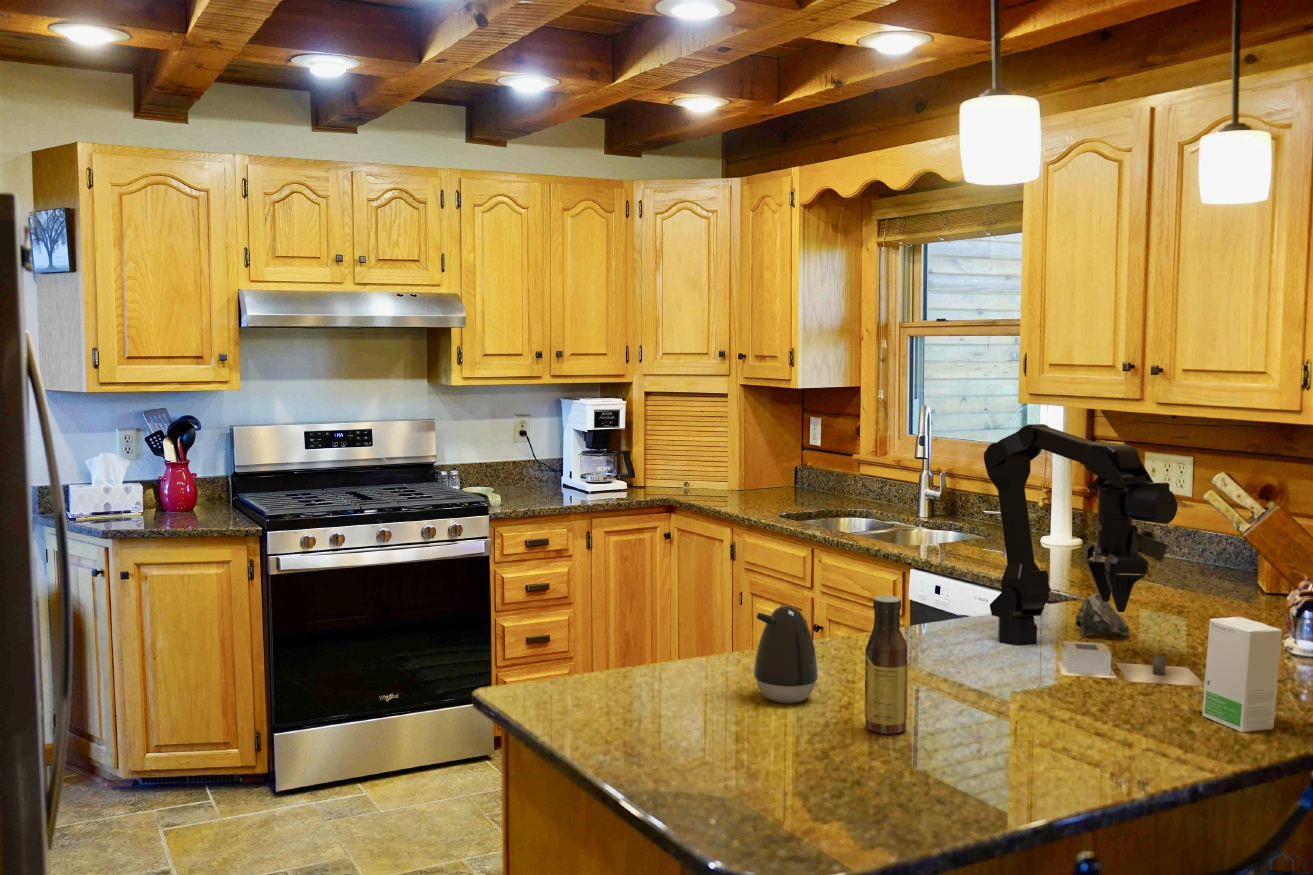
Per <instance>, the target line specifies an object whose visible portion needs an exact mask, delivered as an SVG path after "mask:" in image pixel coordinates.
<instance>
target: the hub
mask: <svg viewBox="0 0 1313 875" xmlns="http://www.w3.org/2000/svg"><path fill="white" fill-rule="evenodd" d="M1166 661H1167V657H1166V656H1163V655H1158V654H1157V655H1153V657H1152V664H1140V663H1139V664H1138V663H1123V662H1116V663H1115V664H1116V666H1117V667H1118V668H1119V670H1120V672H1121V673H1122V674H1123V675H1124V677H1125V678H1126V680H1127V681H1128V682H1130V683H1131V682H1133V683H1147V684H1148V683H1149V684H1164V685H1178V686H1180V685H1181V686H1193V687H1194V686H1196V687H1205V683H1203V682H1202V681H1201V680H1200V679H1199V678H1198V677H1197V675H1196V674H1195V673H1193V672H1192V670H1191V669H1190V668H1189V667H1187V666H1174V665H1171V666H1169V665H1166V664H1167V662H1166Z"/></svg>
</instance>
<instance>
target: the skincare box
mask: <svg viewBox="0 0 1313 875" xmlns="http://www.w3.org/2000/svg"><path fill="white" fill-rule="evenodd" d="M1282 635H1283V629H1280V628H1278V627H1274V626H1271V625H1268V624H1265V623H1263V622H1260V621H1256V620H1252V619H1248V618H1246V617H1242V616H1231V617H1218V618H1209V627H1208V638H1207V639H1208V640H1207V649H1206V650H1207V651H1206V663H1205V664H1206V665H1205V674H1204V675H1205V676H1204V685H1205V686H1203V687H1204V689H1203V700H1202V712H1201V713H1202V716H1203V718H1207V719H1209V720H1211V721H1214V722H1216V723H1219V724H1221V725H1223V726H1226V727H1228V728H1231V729H1234V730H1236V731H1238V732H1240V733H1250V732H1257V731H1265V730H1266V731H1267V730H1273V729H1274V728H1275V718H1276V706H1277V692H1278V682H1279V672H1280V670H1279V669H1280V661H1281V648H1282V647H1281V646H1282V638H1283V636H1282Z"/></svg>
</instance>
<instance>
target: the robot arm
mask: <svg viewBox="0 0 1313 875" xmlns="http://www.w3.org/2000/svg"><path fill="white" fill-rule="evenodd" d="M1042 451H1046V452H1049V453H1052V454H1055V455H1057V456H1060V457H1063V458H1066V459H1068V460H1071V461H1075V462H1077V463H1079V464H1081V465H1082V466H1084V468H1085V469H1086V471H1088V472H1090V473H1091V474H1093V475H1094V476H1096V478H1095V479H1094V480H1093V481H1092V482H1091V483H1090V484H1088V485H1087V489H1088V490H1089V491H1090V490H1092V491H1097V520H1095V521H1093V527H1094V529H1096V530H1097V531H1096V541H1087V543H1085V544H1084V545H1083V546H1082V558H1084V562H1085V564H1086V566H1087V568H1088V571H1089V573H1090V575H1091V577H1092V580H1093V582H1094V584H1095V586H1096V590H1097V591H1098V594H1100V597H1101V599H1102V601H1103V602H1108V603H1109V602H1110V599H1111V597H1112V600H1113V602H1114V606H1115V608H1116V611H1117V612H1118V613H1124V612H1125V611H1126V608H1127V606H1128V602H1129V599H1130V597H1131V593H1132V590H1133V587H1134V585H1135V583H1137V582H1138V581H1140V580H1141V579H1144V577H1146V575H1149V570H1150V569H1149V568H1150V567H1149V566H1150V563H1149V561H1148V560H1147V559H1145V558H1144V556H1145V555H1146V556H1147V557H1150V558H1153V559H1154V560H1155V561H1159V562H1161V563H1162V562H1163V560H1164V558H1165V555H1166V552H1167V550H1168V547H1169V544H1167V543H1165V542H1162V541H1160V540H1157V539H1156V538H1155V535H1154V533H1153V532H1151V531H1149V530H1146V529H1142V530H1140V531H1139V527H1138V526H1137V525H1136V524H1134V521H1138V522H1147V523H1155V524H1161V525H1166V524H1170V523H1171V522H1172V521H1173V520H1174V519H1175V517H1176V515H1177V512H1178V501H1177V498H1176V496H1175V494H1174V493H1173V491H1172V490H1170V483H1169V482H1154V481H1153V479H1152V477H1151V476H1150V474H1149V473H1148V470H1147V469H1146V467H1145V466H1144V464H1143V462H1142V461H1141V458H1140V454H1139V452H1138V449H1136V447H1134V446H1132V445H1128V444H1122V443H1121V444H1120V443H1108V442H1107V443H1106V442H1095V441H1092V440H1089V439H1087V438H1083V437H1080V436H1077V435H1075V434H1071V433H1068V432H1065V431H1063V430H1059V429H1055V428H1052V427H1050V426H1048V425H1047V424H1045V423H1033V424H1031V423H1030V424H1026V425H1024V426H1023V427H1021V428H1020V429H1019V430H1017V431H1016V432H1014V433H1011V434H1010V435H1008V436H1005V437H1003V438H1001V439H1000V440H998V441H997V442H993V443H990V444H989V445H988V446H987V448H986V449H985V451H984V452H983V462H984V466H985V469H986V474H987V477H988V478H989V480H990V481H991V482H992V484H993V485H994V487H995V488H996V489H997V494H998V501H999V510H1000V516H1001V525H1002V532H1003V540H1004V547H1005V555H1006V556H1005V557H1006V567H1005V570H1004V572H1003V575H1002V578H1001V579H1000V580H1001V581H1000V582H1001V592H1000V594H999V595H998V596H996V598H994V599H993V601H992V602H991V603H990V604H989V610H990V613H991V616H992V617H996V618H998V622H997V623H998V624H997V625H998V628H997V630H998V632H997V640H998V643H999V644H1005V645H1010V646H1011V645H1012V646H1030V645H1031V646H1034V645H1035V646H1036V645H1037V644H1038V643H1037V642H1038V641H1037V640H1038V626H1037V624H1036V622H1035V617H1041V616H1042V613H1043V611H1044V608H1045V606H1046V604H1047V603H1048V602H1049V599H1050V593H1051V592H1052V589H1051V587H1050V583H1049V573H1048V570H1041V569H1040V568H1039V567H1038V565H1037V564H1036V562H1035V557H1034V556H1035V555H1034V549H1033V541H1032V535H1031V525H1030V517H1029V510H1028V503H1027V496H1026V484H1027V481H1028V479H1029V476H1030V475H1031V461H1032V460H1034V459H1035V458H1036V457H1038V456H1039V455H1040V454H1041V452H1042ZM1139 553H1141V554H1142V555H1144V556H1142V555H1139Z"/></svg>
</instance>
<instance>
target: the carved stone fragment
mask: <svg viewBox="0 0 1313 875" xmlns="http://www.w3.org/2000/svg"><path fill="white" fill-rule="evenodd" d="M1075 625H1076V626H1077V627H1078V628H1079V630H1080V637H1081V638H1087V637H1090V636H1092V635H1098V636H1099V635H1102V634H1109V635H1112V636H1114V637H1115V638H1116V639H1120V640H1125V639H1126V638H1127V637H1128V636H1129V634H1130V628H1129V626H1128V624H1127V622H1126V620H1125V619H1124V617H1123V616H1121V615H1120V614H1119V613H1117V612H1116V611H1115V609H1114V608H1113V606H1112V605H1111V604H1110V603H1109V602H1103V601H1102V599H1101V597H1100V594H1099V593H1094V594H1091V595H1089V596H1088V597H1087V599H1086V600H1085V601H1084V602H1083V604H1082V605H1081V607H1080V608H1079V610H1078V611H1077V613H1076V614H1075Z"/></svg>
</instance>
